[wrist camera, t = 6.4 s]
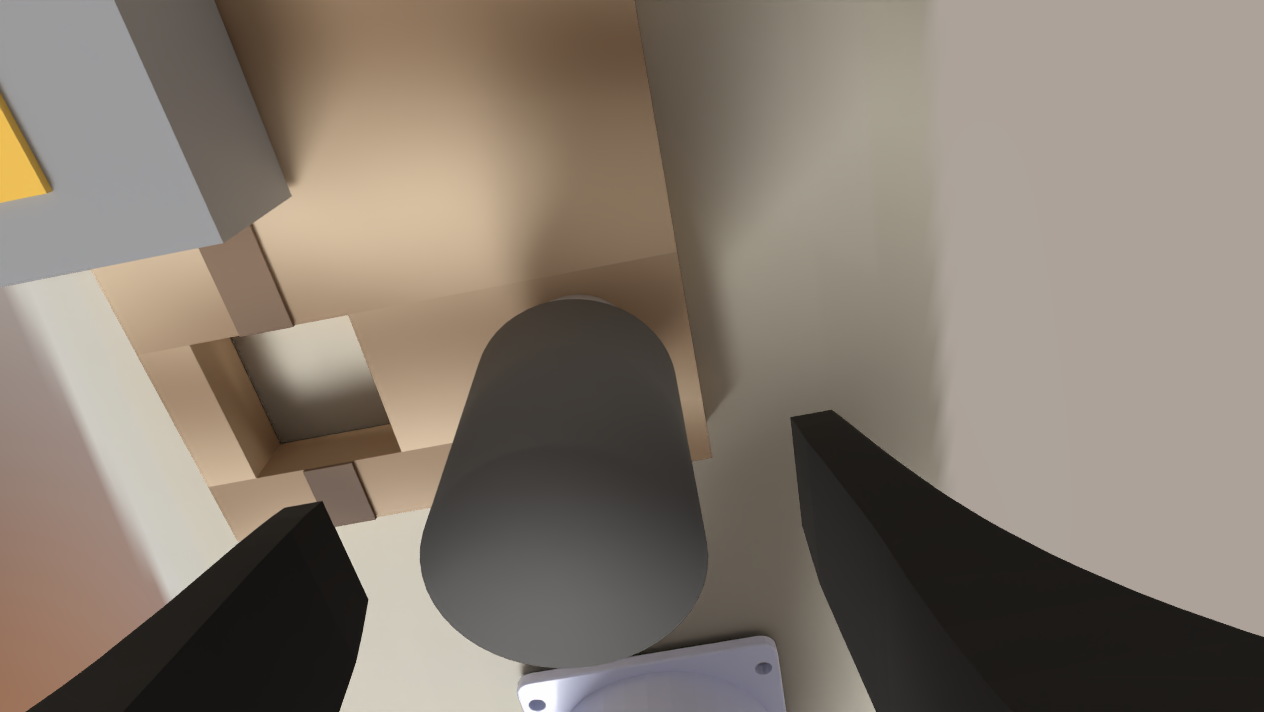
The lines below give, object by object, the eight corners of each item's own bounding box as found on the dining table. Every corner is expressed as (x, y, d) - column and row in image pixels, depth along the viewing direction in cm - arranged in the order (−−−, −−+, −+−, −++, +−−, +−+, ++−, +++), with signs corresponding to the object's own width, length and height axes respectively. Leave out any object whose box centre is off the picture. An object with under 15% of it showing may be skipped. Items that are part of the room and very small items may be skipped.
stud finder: (291, 196, 15) (218, 246, 12) (100, 234, 15) (-15, 292, 12) (177, -93, 13) (55, -115, 10) (-45, -43, 13) (-226, -50, 10)
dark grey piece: (682, 408, 18) (725, 644, 11) (514, 439, 18) (466, 686, 12) (652, 247, 16) (684, 420, 10) (466, 283, 16) (379, 475, 10)
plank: (704, 425, 20) (712, 459, 18) (261, 504, 20) (235, 544, 19) (579, -307, 13) (576, -343, 12) (-73, -155, 14) (-153, -172, 12)
